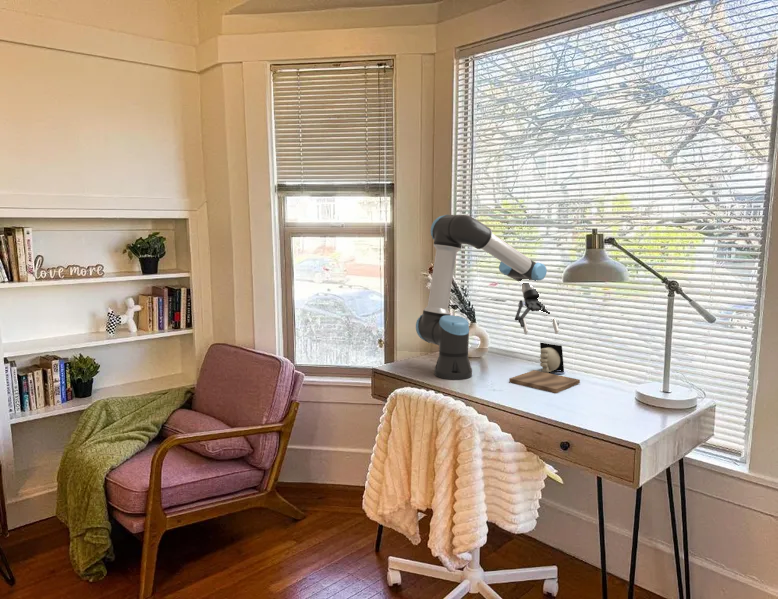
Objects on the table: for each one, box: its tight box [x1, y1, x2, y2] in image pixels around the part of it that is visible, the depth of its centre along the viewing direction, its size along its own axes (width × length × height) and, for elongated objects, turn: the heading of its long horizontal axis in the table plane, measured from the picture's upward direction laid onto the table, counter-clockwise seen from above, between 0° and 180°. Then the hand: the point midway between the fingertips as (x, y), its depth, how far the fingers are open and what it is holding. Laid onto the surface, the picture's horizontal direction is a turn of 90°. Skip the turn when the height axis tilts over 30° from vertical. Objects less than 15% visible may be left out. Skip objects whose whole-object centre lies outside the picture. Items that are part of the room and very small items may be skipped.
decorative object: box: [539, 342, 565, 373], centre depth 239 cm, size 12×10×10 cm
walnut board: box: [508, 369, 581, 394], centre depth 224 cm, size 20×18×2 cm
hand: (541, 332), depth 249 cm, fingers open, 13 cm apart
